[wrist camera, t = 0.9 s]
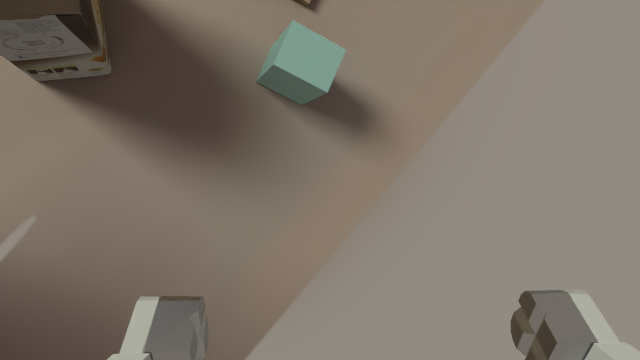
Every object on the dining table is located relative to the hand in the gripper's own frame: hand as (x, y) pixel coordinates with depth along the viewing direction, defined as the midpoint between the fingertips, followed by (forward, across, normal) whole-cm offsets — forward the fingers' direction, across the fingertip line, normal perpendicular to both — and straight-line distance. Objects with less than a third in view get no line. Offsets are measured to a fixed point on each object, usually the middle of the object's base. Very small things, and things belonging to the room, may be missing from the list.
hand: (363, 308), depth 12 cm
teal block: (+36, +2, +9) cm, 37 cm away
